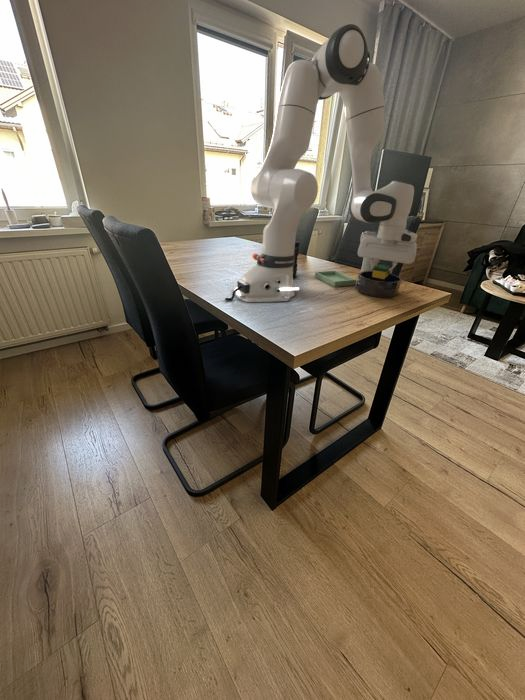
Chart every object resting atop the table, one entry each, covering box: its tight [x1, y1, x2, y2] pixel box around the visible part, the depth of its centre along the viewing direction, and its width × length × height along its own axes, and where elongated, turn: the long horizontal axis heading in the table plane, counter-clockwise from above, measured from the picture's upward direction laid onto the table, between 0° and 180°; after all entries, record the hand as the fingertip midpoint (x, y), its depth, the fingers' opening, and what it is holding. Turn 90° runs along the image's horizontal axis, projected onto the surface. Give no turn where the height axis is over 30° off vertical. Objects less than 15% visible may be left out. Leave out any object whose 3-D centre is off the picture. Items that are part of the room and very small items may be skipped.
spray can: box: [360, 230, 380, 272], centre depth 121 cm, size 7×7×20 cm
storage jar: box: [293, 239, 300, 280], centre depth 122 cm, size 10×10×15 cm
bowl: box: [355, 271, 403, 299], centre depth 110 cm, size 16×16×6 cm
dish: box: [314, 270, 357, 288], centre depth 122 cm, size 11×15×2 cm
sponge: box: [372, 263, 391, 279], centre depth 108 cm, size 7×5×4 cm, turn 147°
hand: (381, 271), depth 108 cm, fingers closed on sponge, 4 cm apart
